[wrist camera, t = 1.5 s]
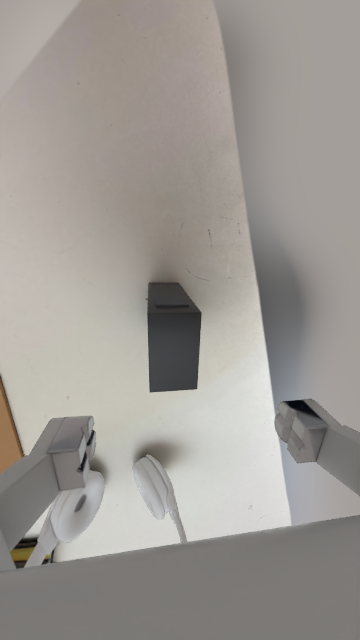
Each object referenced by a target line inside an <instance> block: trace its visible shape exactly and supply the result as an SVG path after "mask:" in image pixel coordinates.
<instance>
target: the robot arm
mask: <svg viewBox="0 0 360 640" xmlns="http://www.w3.org/2000/svg"><path fill="white" fill-rule="evenodd" d="M277 410H278V411H279V414H278V415H277V416H276V417H275V422H274V424H275V429H276V432H277V434H278V436H279V437H280V439H281V440H283V441H284V442H286V443H287V449H288V451H289V452H290V454H291V455H292V457H293V458H294V459H295V461H296V462H297V463H305V462H317V464H319V465H320V466H321V467H323V468H324V469H325V470H327V471H328V472H329V473H330V474H332V475H333V476H334V477H336V478H337V479H338V480H340V481H341V482H342V483H343V484H345V485H346V486H347V487H349V488H350V489H351V490H353V491H354V492H355V493H356V494H358V495H359V496H360V432H358V431H356V430H353V429H352V428H349V427H347V426H342V425H341V424H340V423H338V422H337V421H336V420H335V419H334V418H333V417H332V416H331V415H330V414H329V413H327V411H326V410H324V409H323V408H322V407H321V406H320V405H319V404H318V403H317V402H316V401H315V400H312V399H305V400H295V401H283V402H279V404H278V407H277ZM93 426H94V419H93V416H77V417H63V418H52V419H51V420H50V421H49V422H48V424H47V426H46V427H45V429H44V431H43V433H42V434H41V436H40V438H39V439H38V441H37V443H36V444H35V446H34V448H33V449H32V451H31V453H30V454H29V455H26V456H23V457H22V458H21V459H19V460H18V461H17V462H16V463H14V464H13V465H12V466H10V467H9V468H8V469H6V470H5V471H4V472H2V473H1V474H0V640H360V515H357V516H352V517H345V518H339V519H332V520H325V521H319V522H313V523H307V524H300V525H294V526H287V527H280V528H274V529H268V530H261V531H255V532H248V533H242V534H236V535H229V536H223V537H217V538H210V539H204V540H198V541H191V542H185V543H179V544H172V545H166V546H159V547H153V548H146V549H140V550H134V551H127V552H121V553H114V554H108V555H102V556H95V557H89V558H82V559H76V560H70V561H63V562H57V563H50V564H44V565H38V566H31V567H25V568H18V569H16V566H15V564H14V561H13V559H12V556H11V554H10V552H11V551H12V550H13V548H14V547H15V546H16V545H17V544H18V542H19V541H20V540H21V539H22V538H23V536H24V535H25V534H26V533H27V532H28V530H29V529H30V528H31V527H32V526H33V524H34V523H35V522H36V521H37V520H38V518H39V517H40V516H41V515H42V514H43V512H44V511H45V510H46V509H47V508H48V506H49V505H50V504H51V503H52V502H53V500H54V499H55V498H56V497H57V496H58V494H59V493H60V492H59V491H65V490H72V489H79V488H85V485H86V482H87V478H88V474H89V471H90V466H89V462H90V461H91V460H92V459H93V456H94V453H95V447H96V433H95V431H94V430H93Z"/></svg>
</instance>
